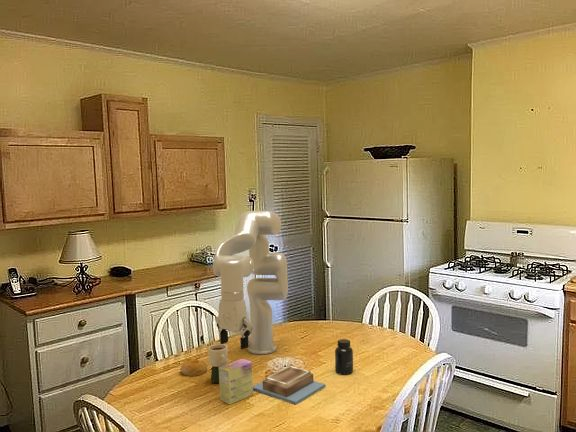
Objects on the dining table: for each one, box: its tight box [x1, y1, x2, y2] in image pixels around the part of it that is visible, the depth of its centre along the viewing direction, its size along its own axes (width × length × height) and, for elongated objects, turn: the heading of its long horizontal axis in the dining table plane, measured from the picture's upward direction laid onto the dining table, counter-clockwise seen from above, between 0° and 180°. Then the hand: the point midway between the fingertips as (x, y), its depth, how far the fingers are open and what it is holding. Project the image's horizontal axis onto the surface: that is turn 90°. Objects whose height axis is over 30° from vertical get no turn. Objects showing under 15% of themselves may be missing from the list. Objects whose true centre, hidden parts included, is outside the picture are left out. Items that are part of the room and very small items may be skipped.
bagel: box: [179, 359, 208, 377], centre depth 195 cm, size 10×11×5 cm
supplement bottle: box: [334, 338, 354, 375], centre depth 191 cm, size 7×7×12 cm
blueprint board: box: [253, 380, 326, 406], centre depth 178 cm, size 20×17×1 cm
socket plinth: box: [262, 365, 315, 397], centre depth 177 cm, size 11×15×4 cm
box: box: [218, 358, 254, 405], centre depth 171 cm, size 10×6×12 cm, turn 134°
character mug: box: [207, 343, 229, 383], centre depth 185 cm, size 11×7×13 cm, turn 31°
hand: (234, 345), depth 170 cm, fingers open, 9 cm apart
